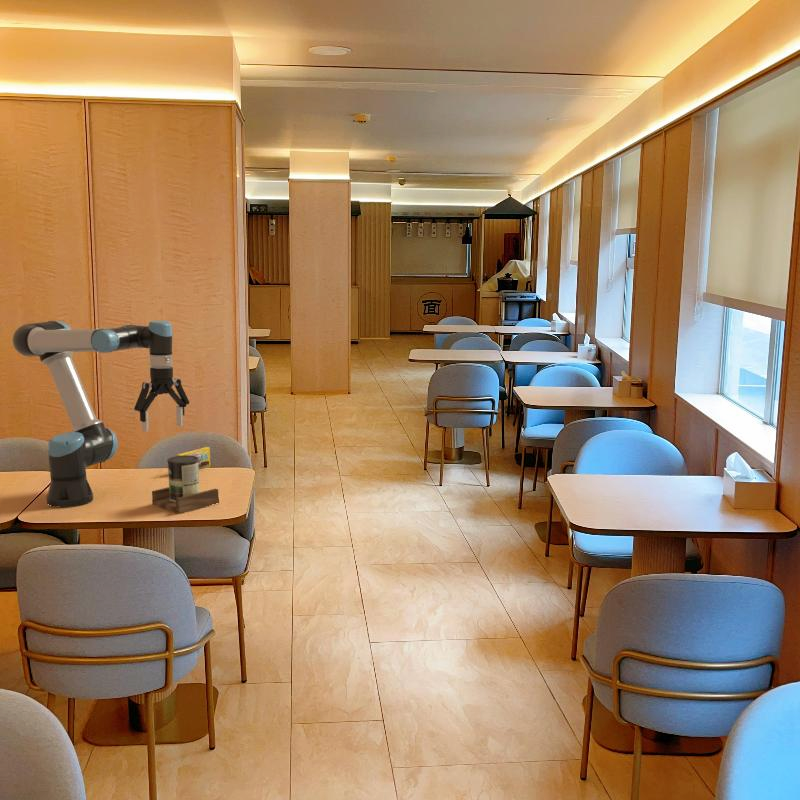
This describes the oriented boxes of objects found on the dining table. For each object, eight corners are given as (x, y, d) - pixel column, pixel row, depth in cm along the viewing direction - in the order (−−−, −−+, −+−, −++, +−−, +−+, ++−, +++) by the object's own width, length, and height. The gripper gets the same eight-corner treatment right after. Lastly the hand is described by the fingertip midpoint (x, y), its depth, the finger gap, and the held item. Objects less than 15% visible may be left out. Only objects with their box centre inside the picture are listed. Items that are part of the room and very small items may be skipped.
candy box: (180, 476, 348) (179, 455, 347) (176, 475, 349) (175, 454, 348) (211, 467, 362) (210, 447, 360) (207, 466, 363) (206, 446, 361)
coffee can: (167, 503, 303) (165, 462, 301) (171, 495, 313) (169, 455, 311) (198, 502, 304) (196, 461, 302) (201, 494, 315) (199, 454, 312)
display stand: (152, 505, 309) (151, 491, 308) (191, 495, 321) (190, 481, 320) (179, 514, 298) (179, 499, 297) (219, 503, 310) (218, 489, 309)
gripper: (134, 371, 294) (136, 435, 298) (198, 364, 313) (199, 424, 317) (122, 368, 299) (124, 431, 303) (186, 362, 318) (187, 421, 322)
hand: (162, 428), depth 310 cm, fingers open, 13 cm apart
